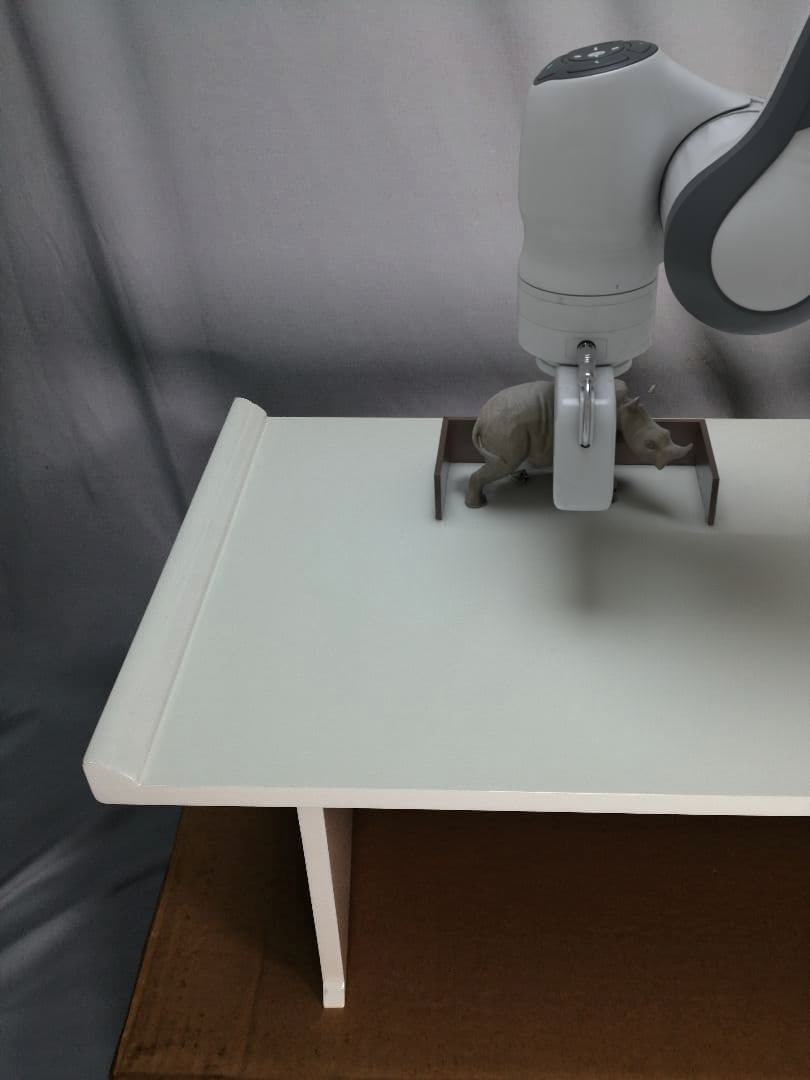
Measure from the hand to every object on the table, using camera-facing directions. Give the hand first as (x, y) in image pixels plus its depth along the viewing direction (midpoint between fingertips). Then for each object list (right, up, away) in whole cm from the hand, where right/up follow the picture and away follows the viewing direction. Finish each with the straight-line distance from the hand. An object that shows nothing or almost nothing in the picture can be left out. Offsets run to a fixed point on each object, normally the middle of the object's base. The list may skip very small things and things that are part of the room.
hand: (577, 497), depth 83 cm
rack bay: (+1, +1, +10) cm, 10 cm away
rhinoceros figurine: (+1, +1, +10) cm, 10 cm away
